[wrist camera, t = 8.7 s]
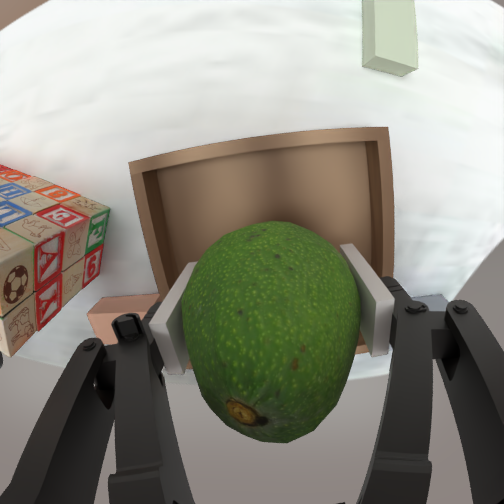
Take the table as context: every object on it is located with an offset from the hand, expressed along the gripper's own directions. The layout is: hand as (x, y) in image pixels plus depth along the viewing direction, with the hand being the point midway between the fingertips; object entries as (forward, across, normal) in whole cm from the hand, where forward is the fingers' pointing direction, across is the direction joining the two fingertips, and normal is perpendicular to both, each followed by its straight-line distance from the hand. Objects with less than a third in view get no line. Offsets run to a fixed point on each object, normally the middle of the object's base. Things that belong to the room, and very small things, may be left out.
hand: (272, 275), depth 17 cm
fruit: (+1, 0, 0) cm, 1 cm away
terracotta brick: (+4, -12, -4) cm, 13 cm away
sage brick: (+4, +10, +15) cm, 19 cm away
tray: (+4, 0, 0) cm, 4 cm away
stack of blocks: (+5, -22, +7) cm, 24 cm away
